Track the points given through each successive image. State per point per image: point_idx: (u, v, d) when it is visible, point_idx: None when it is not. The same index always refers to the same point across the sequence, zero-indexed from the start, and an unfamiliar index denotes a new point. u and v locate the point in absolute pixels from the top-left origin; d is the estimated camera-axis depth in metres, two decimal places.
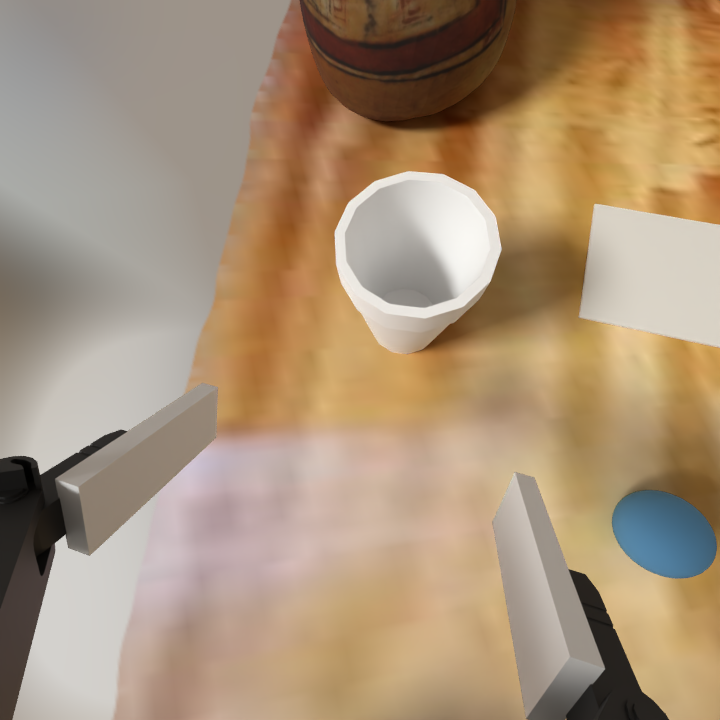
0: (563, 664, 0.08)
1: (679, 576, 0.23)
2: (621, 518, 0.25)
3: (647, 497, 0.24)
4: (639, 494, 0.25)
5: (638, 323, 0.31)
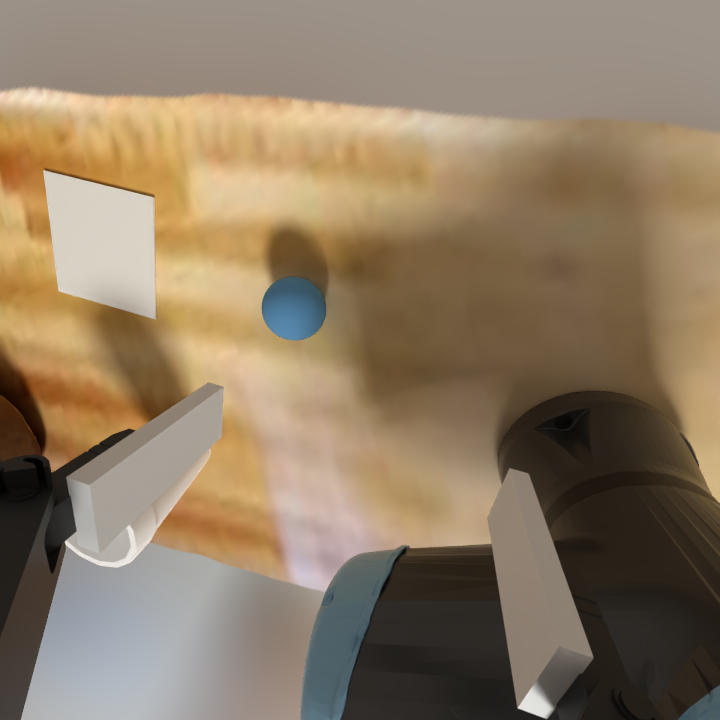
0: (553, 654, 0.08)
1: (314, 316, 0.29)
2: None
3: None
4: None
5: (149, 272, 0.35)
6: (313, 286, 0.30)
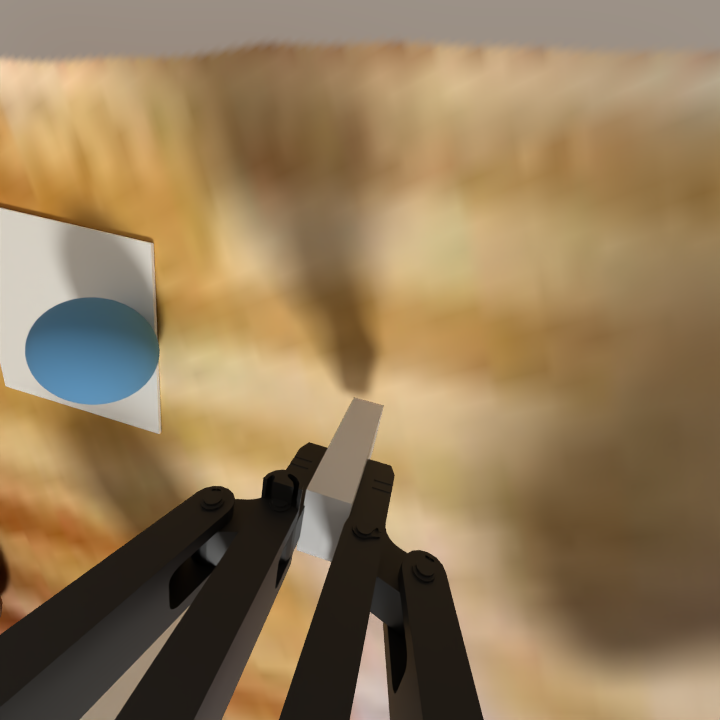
0: (326, 504, 0.11)
1: (125, 364, 0.17)
2: None
3: None
4: None
5: None
6: (121, 313, 0.17)
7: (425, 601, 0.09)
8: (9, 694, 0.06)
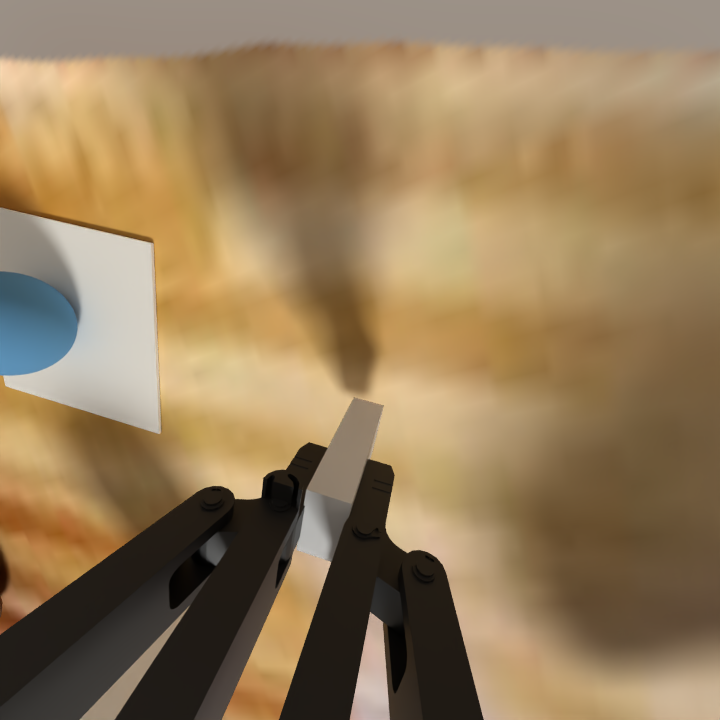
0: (326, 504, 0.11)
1: None
2: None
3: None
4: None
5: (147, 364, 0.21)
6: None
7: (425, 601, 0.09)
8: (9, 694, 0.06)
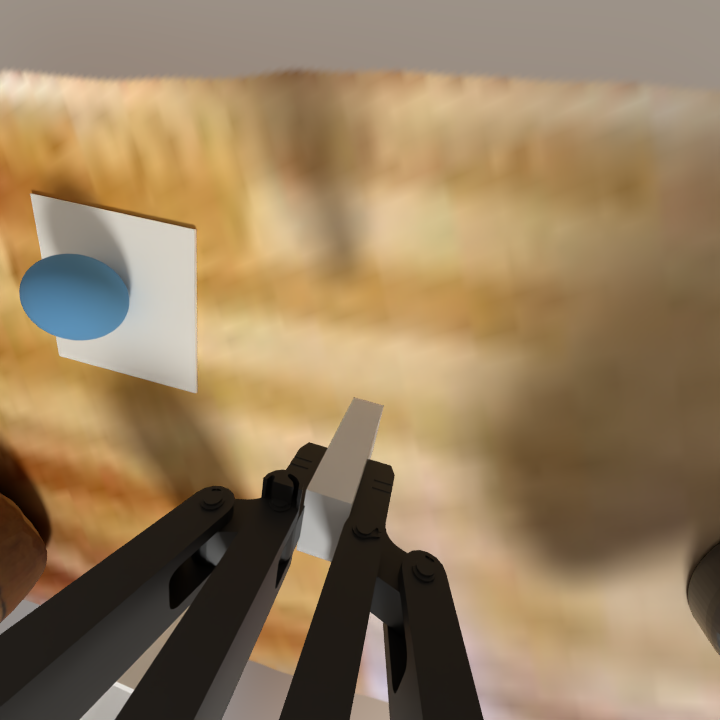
0: (327, 504, 0.11)
1: (19, 291, 0.21)
2: None
3: None
4: None
5: (188, 332, 0.25)
6: (48, 261, 0.21)
7: (425, 601, 0.09)
8: (9, 694, 0.06)
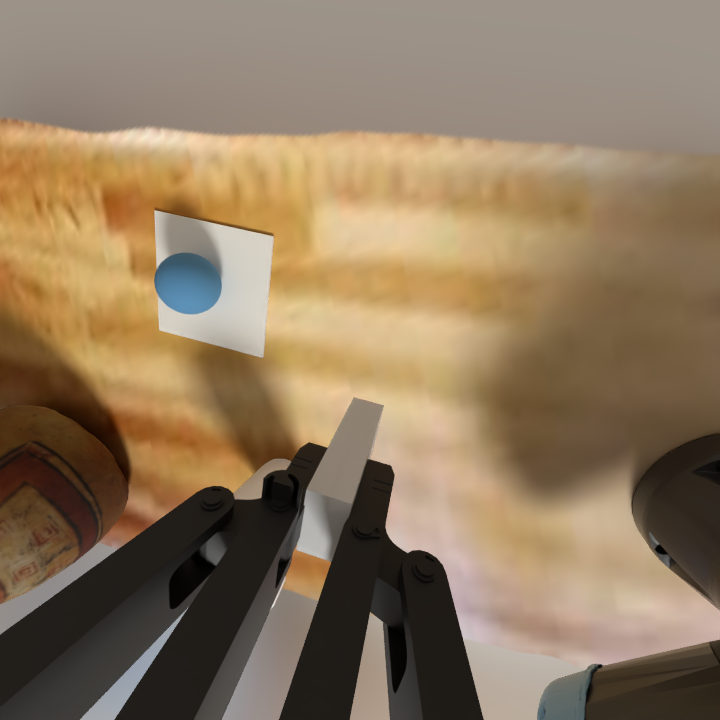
0: (326, 504, 0.11)
1: (155, 277, 0.30)
2: None
3: None
4: None
5: (261, 311, 0.34)
6: (176, 257, 0.30)
7: (425, 601, 0.09)
8: (10, 693, 0.06)
